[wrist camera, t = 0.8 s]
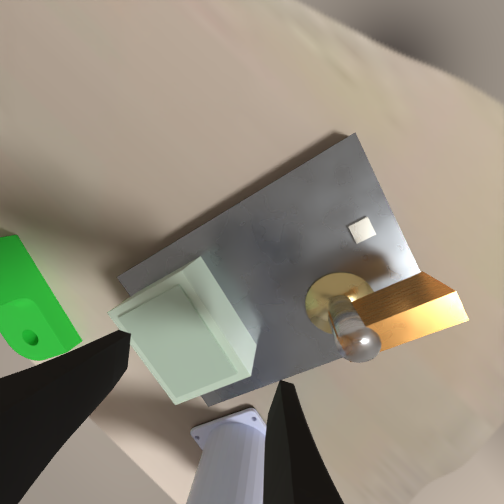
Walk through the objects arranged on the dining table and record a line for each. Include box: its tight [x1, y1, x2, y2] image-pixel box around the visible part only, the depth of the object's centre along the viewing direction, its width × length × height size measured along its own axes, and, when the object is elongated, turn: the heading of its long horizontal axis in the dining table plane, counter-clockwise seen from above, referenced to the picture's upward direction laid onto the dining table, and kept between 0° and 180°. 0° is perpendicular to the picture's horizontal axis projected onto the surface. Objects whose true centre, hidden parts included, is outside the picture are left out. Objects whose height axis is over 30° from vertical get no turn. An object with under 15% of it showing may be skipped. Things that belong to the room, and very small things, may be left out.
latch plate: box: [117, 133, 420, 407], centre depth 19 cm, size 15×22×1 cm
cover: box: [107, 256, 257, 405], centre depth 18 cm, size 9×7×4 cm
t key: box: [328, 272, 469, 363], centre depth 15 cm, size 2×7×5 cm, turn 120°
